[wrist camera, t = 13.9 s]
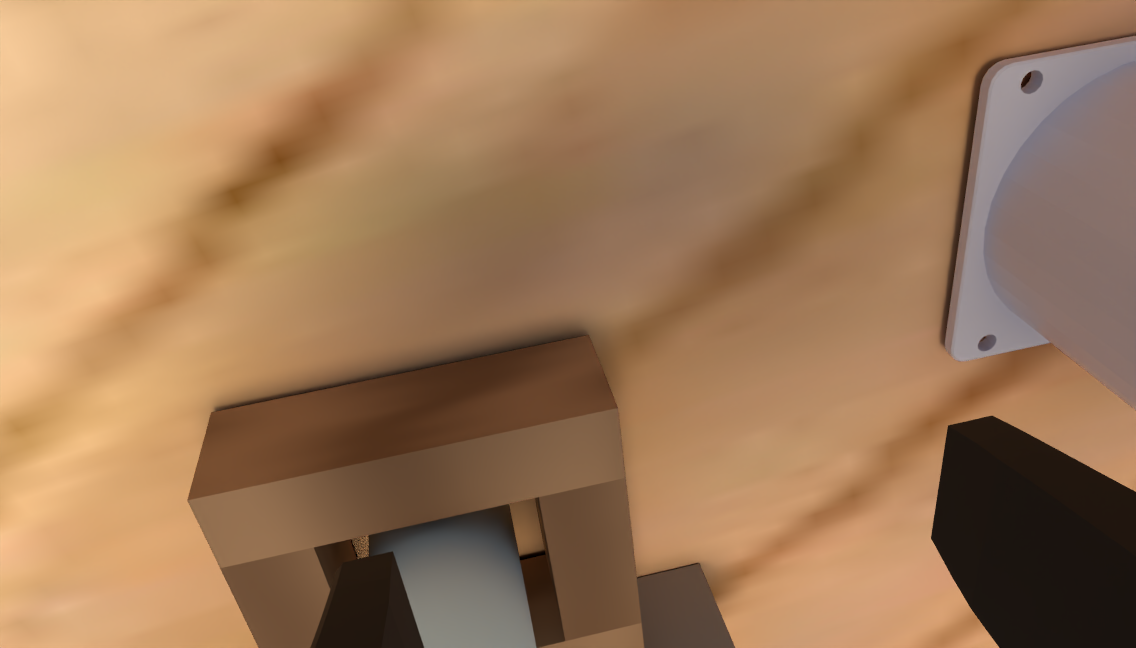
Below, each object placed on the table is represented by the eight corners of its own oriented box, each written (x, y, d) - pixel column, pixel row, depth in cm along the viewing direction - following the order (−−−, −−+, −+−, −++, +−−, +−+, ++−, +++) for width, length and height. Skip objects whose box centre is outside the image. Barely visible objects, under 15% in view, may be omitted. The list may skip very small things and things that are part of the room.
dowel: (491, 431, 22) (533, 659, 16) (517, 530, 24) (563, 766, 18) (352, 464, 22) (343, 709, 16) (389, 562, 24) (393, 813, 18)
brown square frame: (588, 335, 21) (617, 408, 18) (620, 586, 26) (647, 671, 23) (211, 412, 20) (187, 500, 17) (317, 657, 25) (310, 754, 22)
